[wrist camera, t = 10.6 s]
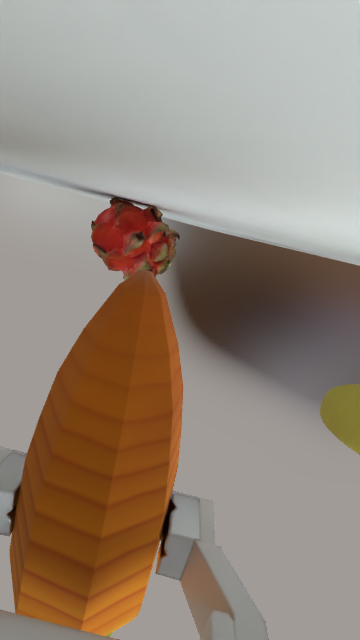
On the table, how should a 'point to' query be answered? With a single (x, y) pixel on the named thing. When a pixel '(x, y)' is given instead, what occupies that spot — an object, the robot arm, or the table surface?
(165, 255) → the dragon fruit
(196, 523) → the robot arm
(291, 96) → the table surface
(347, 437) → the cocktail glass
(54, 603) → the carrot
